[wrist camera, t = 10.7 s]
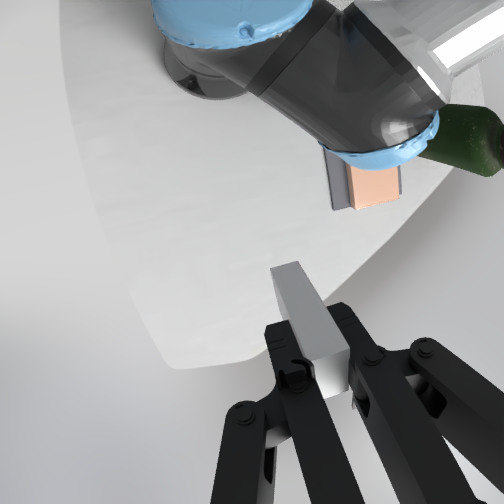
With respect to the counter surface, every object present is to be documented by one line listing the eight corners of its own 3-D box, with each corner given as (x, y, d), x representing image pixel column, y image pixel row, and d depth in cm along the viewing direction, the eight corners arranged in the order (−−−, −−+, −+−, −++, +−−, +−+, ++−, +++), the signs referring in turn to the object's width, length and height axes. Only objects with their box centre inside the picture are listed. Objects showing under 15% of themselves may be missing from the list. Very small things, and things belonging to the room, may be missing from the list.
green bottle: (395, 142, 41) (515, 175, 18) (410, 92, 37) (528, 98, 14) (432, 166, 43) (537, 207, 21) (445, 119, 39) (551, 142, 17)
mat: (319, 124, 38) (320, 124, 38) (392, 116, 38) (394, 116, 38) (333, 209, 44) (334, 210, 44) (400, 193, 45) (401, 194, 44)
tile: (349, 161, 39) (396, 153, 39) (344, 159, 40) (389, 151, 41) (355, 209, 42) (399, 198, 43) (350, 206, 44) (393, 196, 44)
